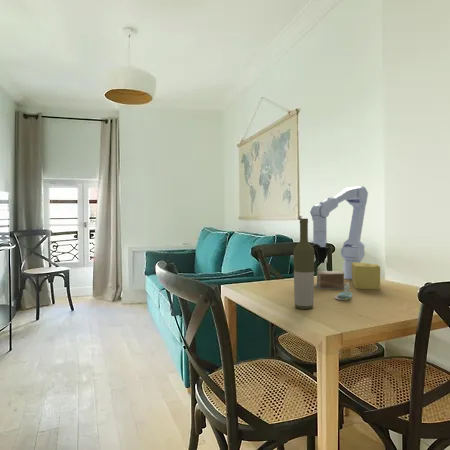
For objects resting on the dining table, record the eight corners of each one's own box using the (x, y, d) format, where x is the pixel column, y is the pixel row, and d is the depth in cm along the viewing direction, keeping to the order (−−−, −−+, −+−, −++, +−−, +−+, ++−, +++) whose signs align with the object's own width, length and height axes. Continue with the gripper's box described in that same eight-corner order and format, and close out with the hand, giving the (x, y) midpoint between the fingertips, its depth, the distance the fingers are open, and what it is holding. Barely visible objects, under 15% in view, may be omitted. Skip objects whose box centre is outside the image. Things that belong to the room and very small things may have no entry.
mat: (314, 284, 153) (314, 284, 153) (344, 285, 152) (344, 284, 152) (318, 289, 144) (318, 288, 144) (350, 289, 143) (350, 288, 143)
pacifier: (333, 300, 127) (350, 302, 124) (332, 283, 127) (350, 284, 124) (336, 296, 133) (352, 297, 131) (335, 280, 133) (352, 281, 130)
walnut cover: (316, 284, 152) (316, 271, 151) (340, 284, 151) (340, 271, 151) (319, 287, 146) (319, 273, 145) (344, 287, 145) (344, 273, 145)
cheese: (376, 285, 151) (376, 262, 151) (381, 290, 141) (381, 266, 141) (351, 284, 154) (351, 262, 154) (353, 289, 144) (354, 265, 143)
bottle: (297, 303, 122) (297, 218, 121) (317, 306, 118) (317, 218, 117) (290, 308, 116) (290, 218, 115) (311, 311, 112) (311, 218, 111)
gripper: (308, 230, 163) (308, 259, 163) (313, 232, 148) (313, 264, 149) (323, 230, 162) (323, 259, 163) (330, 232, 148) (330, 264, 148)
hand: (319, 261), depth 156 cm, fingers open, 7 cm apart
